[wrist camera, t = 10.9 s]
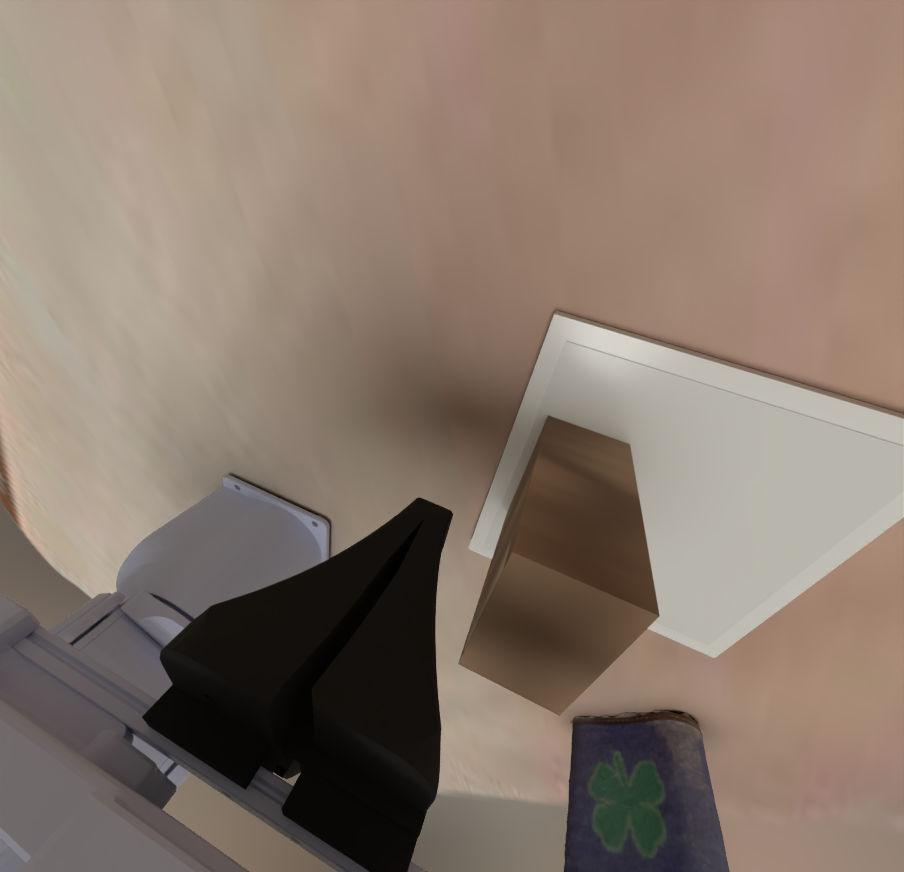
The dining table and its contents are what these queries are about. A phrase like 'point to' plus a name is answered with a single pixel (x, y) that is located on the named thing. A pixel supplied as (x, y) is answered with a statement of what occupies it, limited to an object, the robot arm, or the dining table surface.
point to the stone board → (715, 472)
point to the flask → (641, 797)
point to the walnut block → (565, 571)
